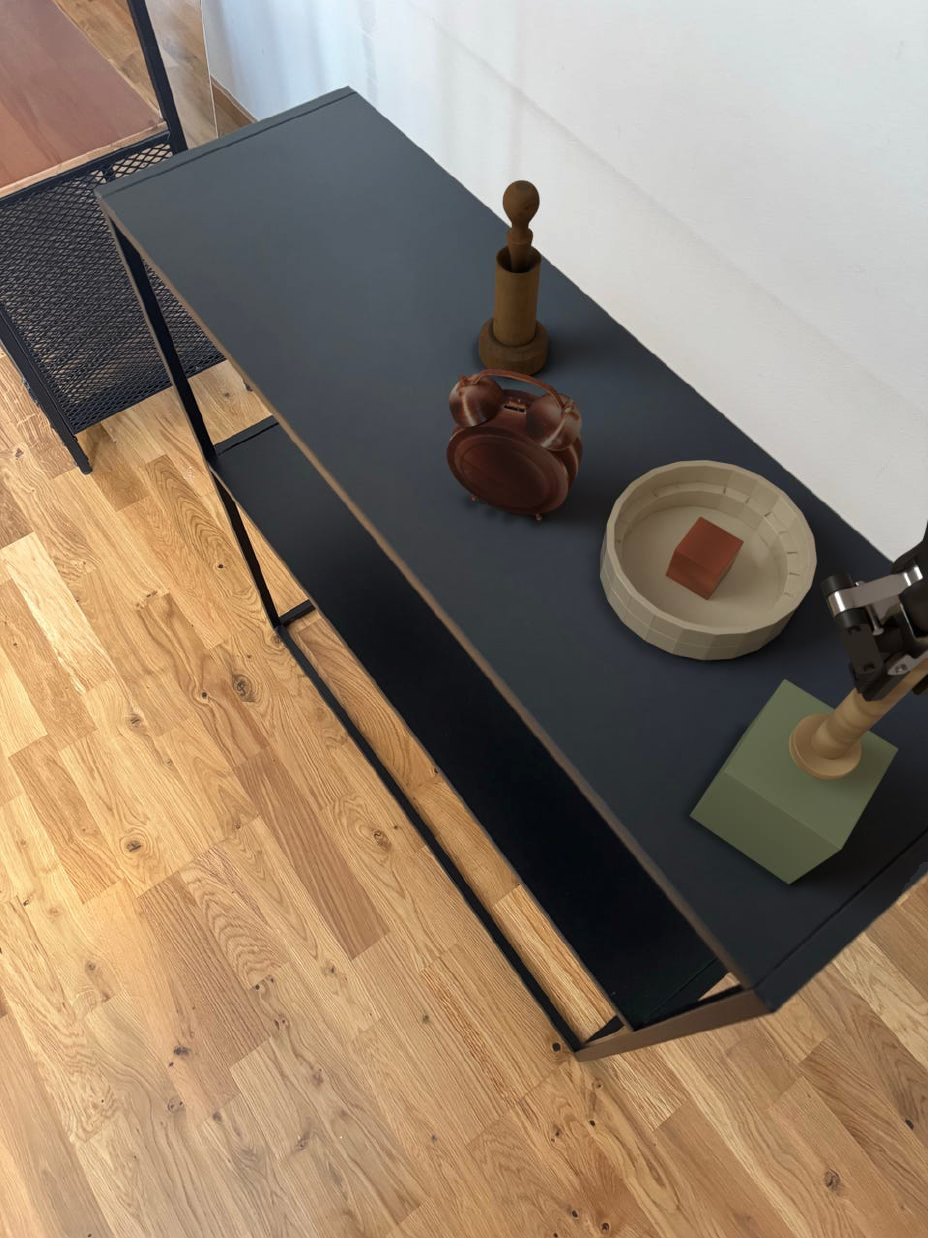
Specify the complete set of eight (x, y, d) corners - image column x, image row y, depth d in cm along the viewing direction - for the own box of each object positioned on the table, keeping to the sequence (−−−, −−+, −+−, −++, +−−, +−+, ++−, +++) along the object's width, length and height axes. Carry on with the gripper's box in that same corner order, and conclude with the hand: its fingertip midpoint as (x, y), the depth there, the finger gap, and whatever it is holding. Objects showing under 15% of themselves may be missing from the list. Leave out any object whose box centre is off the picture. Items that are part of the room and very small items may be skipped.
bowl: (830, 559, 74) (852, 525, 70) (733, 701, 68) (751, 674, 64) (664, 466, 79) (676, 429, 75) (560, 591, 73) (566, 559, 69)
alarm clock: (578, 494, 78) (599, 371, 64) (561, 537, 75) (580, 418, 62) (462, 460, 80) (460, 333, 66) (442, 501, 77) (436, 378, 64)
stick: (867, 743, 54) (992, 628, 41) (837, 794, 52) (957, 691, 39) (807, 707, 55) (910, 583, 42) (776, 755, 54) (874, 643, 40)
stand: (840, 796, 64) (898, 748, 56) (788, 885, 62) (841, 849, 53) (743, 733, 67) (784, 678, 58) (689, 816, 64) (723, 771, 55)
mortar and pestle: (559, 346, 86) (578, 177, 70) (525, 389, 84) (537, 223, 68) (500, 320, 88) (507, 150, 72) (466, 361, 85) (464, 193, 69)
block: (731, 567, 73) (744, 540, 70) (707, 601, 72) (719, 575, 68) (689, 543, 74) (700, 515, 71) (664, 575, 73) (674, 548, 69)
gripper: (946, 585, 28) (779, 768, 43) (1360, 535, 28) (1052, 733, 44) (863, 404, 31) (737, 632, 46) (1233, 364, 32) (989, 602, 47)
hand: (890, 680), depth 45 cm, fingers closed on stick, 2 cm apart
